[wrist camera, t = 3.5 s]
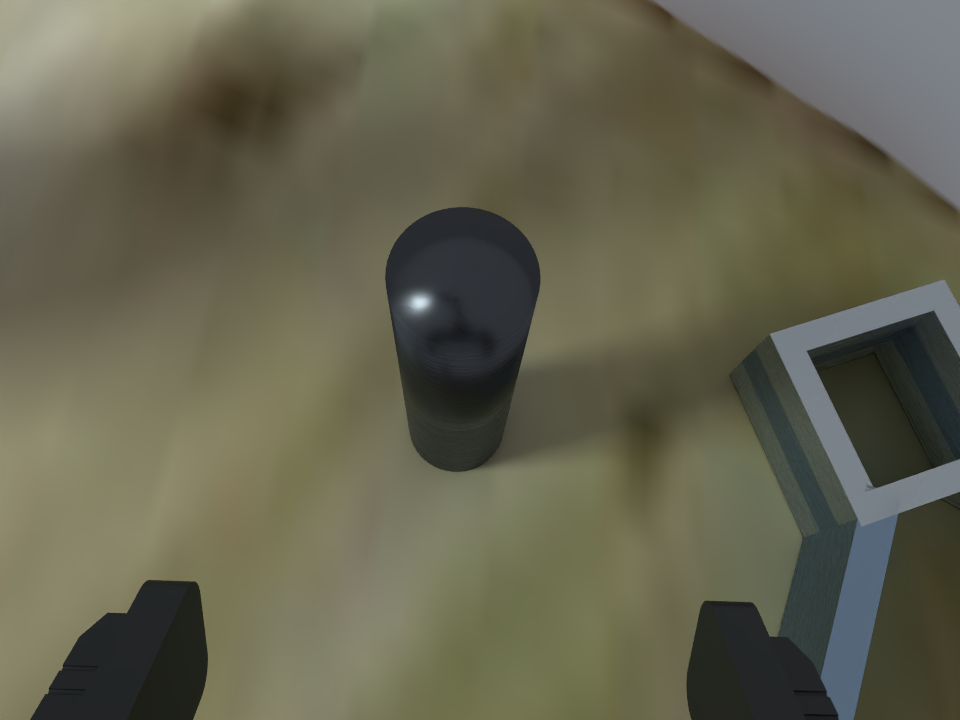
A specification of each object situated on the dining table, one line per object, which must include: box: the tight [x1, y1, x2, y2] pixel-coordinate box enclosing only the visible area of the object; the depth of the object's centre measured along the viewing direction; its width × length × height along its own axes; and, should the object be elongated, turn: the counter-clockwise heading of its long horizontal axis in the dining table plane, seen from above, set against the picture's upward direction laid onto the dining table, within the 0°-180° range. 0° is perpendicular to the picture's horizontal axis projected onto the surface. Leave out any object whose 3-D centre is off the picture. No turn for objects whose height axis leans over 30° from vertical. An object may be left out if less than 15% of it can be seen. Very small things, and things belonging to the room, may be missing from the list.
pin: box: [385, 207, 540, 472], centre depth 21 cm, size 3×3×11 cm
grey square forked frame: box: [730, 280, 960, 720], centre depth 24 cm, size 15×20×4 cm
